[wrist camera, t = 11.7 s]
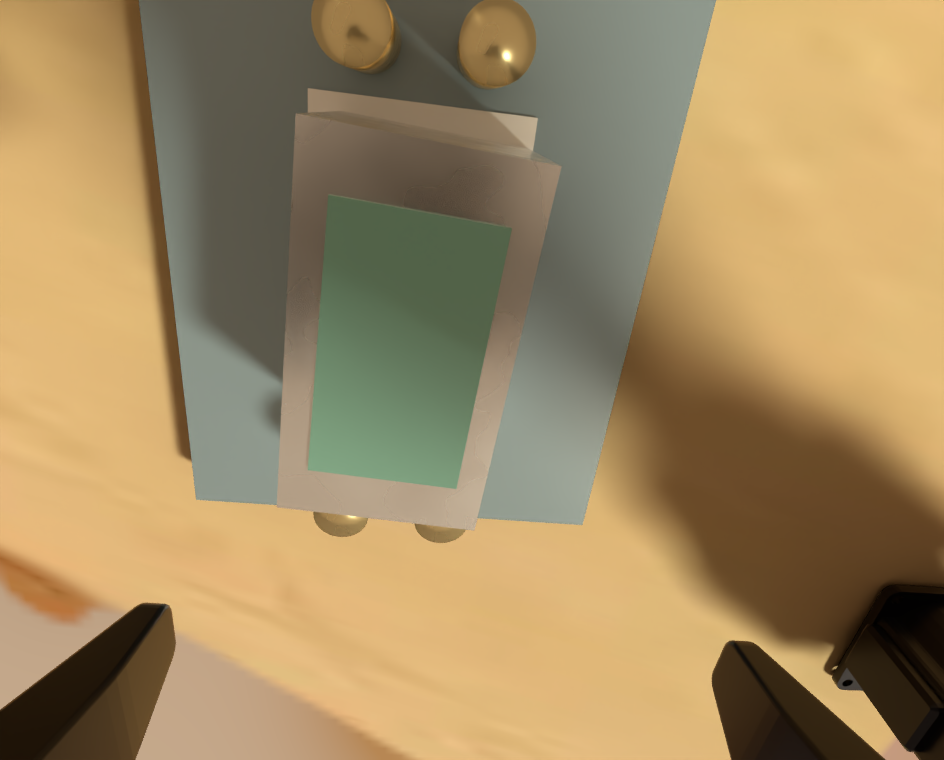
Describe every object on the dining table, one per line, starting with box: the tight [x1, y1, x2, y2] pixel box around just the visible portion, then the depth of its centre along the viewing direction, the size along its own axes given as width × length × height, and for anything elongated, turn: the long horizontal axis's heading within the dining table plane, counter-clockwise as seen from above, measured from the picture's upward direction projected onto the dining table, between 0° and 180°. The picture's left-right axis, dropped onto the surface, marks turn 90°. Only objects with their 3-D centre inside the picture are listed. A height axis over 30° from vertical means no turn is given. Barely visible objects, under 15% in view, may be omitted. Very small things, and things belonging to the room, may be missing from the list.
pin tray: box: [139, 0, 716, 543], centre depth 16 cm, size 14×17×4 cm
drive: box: [277, 111, 562, 530], centre depth 15 cm, size 5×9×5 cm, turn 169°
